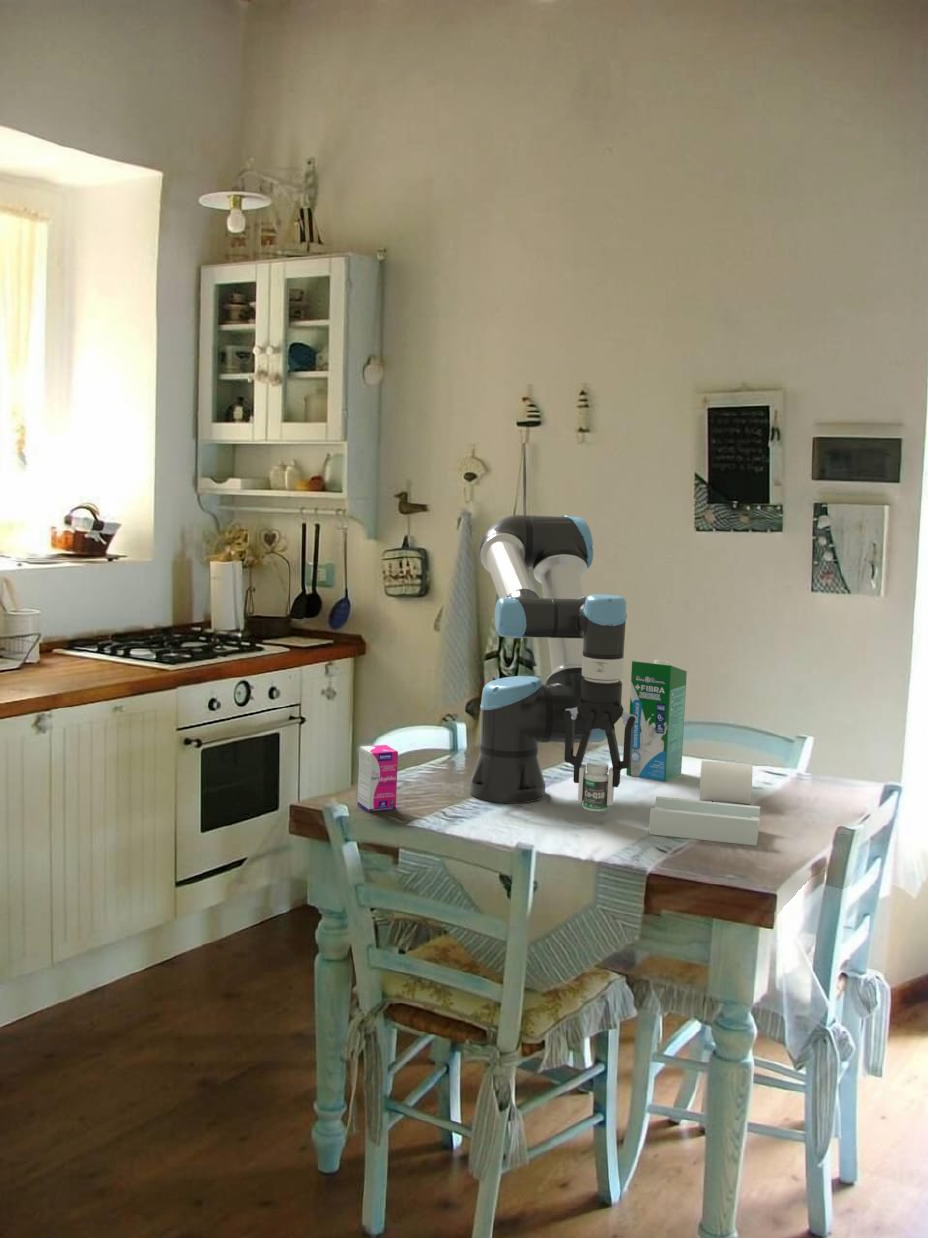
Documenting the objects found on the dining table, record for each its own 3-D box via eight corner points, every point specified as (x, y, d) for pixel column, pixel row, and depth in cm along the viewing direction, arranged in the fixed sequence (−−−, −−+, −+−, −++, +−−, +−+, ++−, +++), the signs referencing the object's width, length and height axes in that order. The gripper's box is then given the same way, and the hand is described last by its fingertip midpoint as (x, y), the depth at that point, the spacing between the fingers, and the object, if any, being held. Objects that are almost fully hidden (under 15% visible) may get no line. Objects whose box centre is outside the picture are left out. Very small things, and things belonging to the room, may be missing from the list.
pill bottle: (579, 809, 229) (581, 765, 228) (586, 803, 234) (588, 759, 233) (604, 813, 228) (606, 768, 226) (610, 806, 232) (613, 762, 231)
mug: (750, 809, 243) (753, 769, 242) (698, 805, 245) (701, 765, 244) (749, 793, 254) (751, 755, 253) (699, 789, 256) (702, 752, 255)
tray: (648, 834, 223) (650, 809, 223) (655, 819, 233) (656, 796, 232) (756, 845, 218) (758, 821, 218) (758, 830, 228) (760, 806, 227)
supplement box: (368, 812, 231) (370, 752, 230) (356, 804, 237) (358, 746, 235) (397, 809, 234) (398, 750, 233) (384, 801, 239) (386, 743, 238)
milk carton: (681, 773, 269) (687, 660, 266) (664, 781, 262) (671, 665, 259) (643, 767, 274) (649, 655, 271) (626, 774, 267) (631, 660, 264)
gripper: (550, 678, 226) (544, 801, 229) (647, 686, 221) (640, 812, 225) (558, 671, 233) (552, 791, 236) (652, 679, 228) (645, 801, 232)
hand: (595, 801), depth 231 cm, fingers closed on pill bottle, 5 cm apart
